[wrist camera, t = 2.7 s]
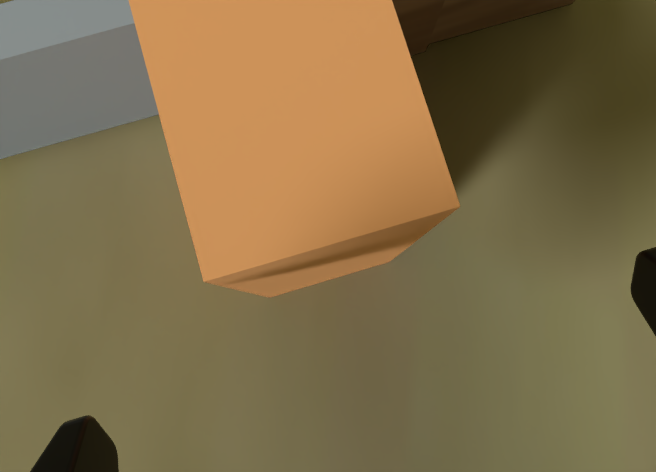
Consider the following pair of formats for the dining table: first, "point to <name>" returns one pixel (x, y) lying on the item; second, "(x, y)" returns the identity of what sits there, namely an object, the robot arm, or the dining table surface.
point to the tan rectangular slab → (293, 136)
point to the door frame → (460, 17)
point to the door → (68, 71)
